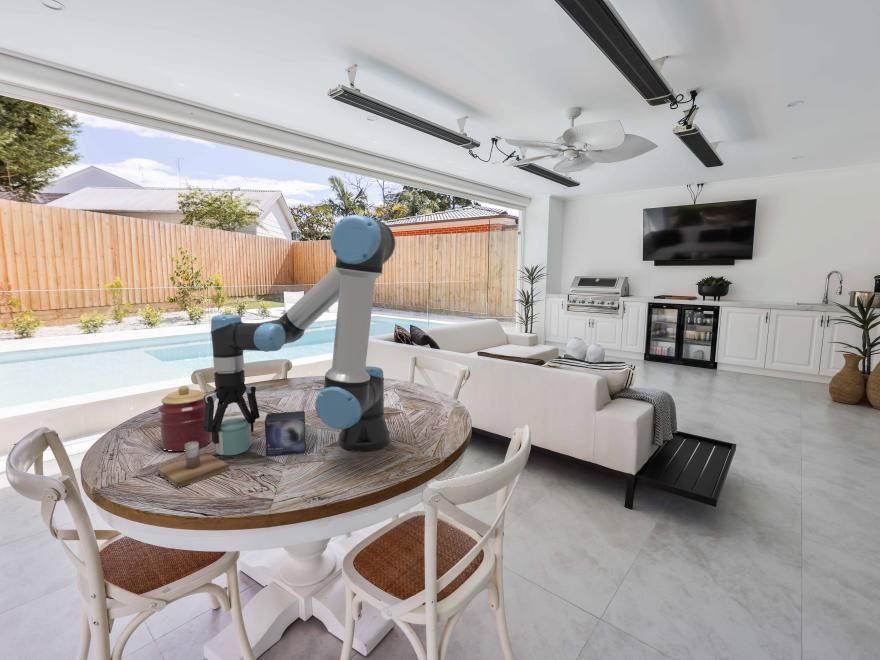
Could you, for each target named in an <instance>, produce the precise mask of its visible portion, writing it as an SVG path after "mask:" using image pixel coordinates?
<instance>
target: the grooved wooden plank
mask: <svg viewBox="0 0 880 660" xmlns="http://www.w3.org/2000/svg"><path fill="white" fill-rule="evenodd" d="M184 453H185V455H184V456H185V459H182V460H178V461H175V462H172V463H170V464H166V465H164V466H160V467H156V473H157V472H158V473H159V474H160V475H162V476H163V477H164V478H166V479H167V480H168V481H170V482H171V483H173V484H174V485H175V486H177V487H182V486H184V487H186V486H185V485H187V486H189V485H188V484H190V485H192V484H195V483H198V482H200V480H201V481H203V480H206V479H209V478H210V477H213V476H216V475H219V474H222V473H225V472H227V471H229V470H230V464H229V463H227V462H225V461H224V460H221V459H220V458H218V457H216V456H214V455H212V454H211V453H208V452H207V451H206V452H204V453H203V452H202V453H200V448H199V443H198V442H196V441H193V442H188V443H186V444H185V451H184ZM164 478H163V479H164ZM167 480H166V481H167ZM168 481H167V482H168ZM197 481H198V482H197ZM194 482H195V483H194ZM171 483H170V484H171ZM191 483H192V484H191ZM174 485H173V486H174ZM175 486H174V487H175ZM177 487H176V488H177ZM182 488H183V487H182Z"/></svg>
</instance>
